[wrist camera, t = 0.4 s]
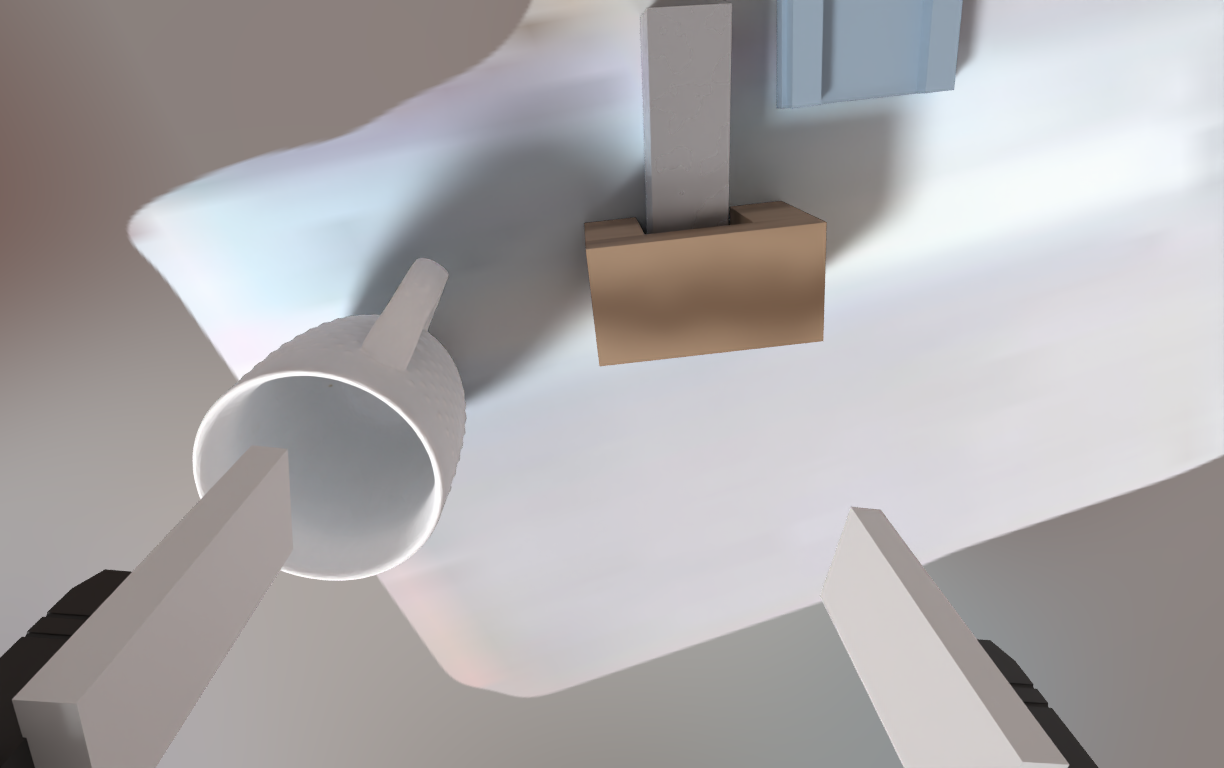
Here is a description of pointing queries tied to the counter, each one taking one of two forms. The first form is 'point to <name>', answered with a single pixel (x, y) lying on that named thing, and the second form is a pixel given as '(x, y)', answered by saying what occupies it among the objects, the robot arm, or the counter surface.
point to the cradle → (864, 49)
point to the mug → (352, 432)
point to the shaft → (686, 115)
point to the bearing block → (707, 285)
